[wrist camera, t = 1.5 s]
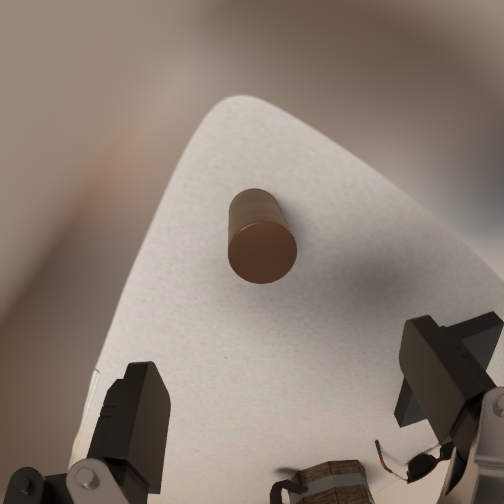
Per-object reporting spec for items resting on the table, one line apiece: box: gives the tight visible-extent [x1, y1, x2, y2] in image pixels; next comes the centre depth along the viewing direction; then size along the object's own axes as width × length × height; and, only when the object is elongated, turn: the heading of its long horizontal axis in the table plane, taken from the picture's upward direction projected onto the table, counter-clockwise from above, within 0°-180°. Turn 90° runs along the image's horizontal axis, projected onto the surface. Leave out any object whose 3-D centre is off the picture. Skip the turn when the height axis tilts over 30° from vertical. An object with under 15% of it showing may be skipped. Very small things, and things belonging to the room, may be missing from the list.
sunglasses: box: [375, 441, 455, 484], centre depth 38 cm, size 14×16×5 cm
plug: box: [228, 189, 297, 284], centre depth 20 cm, size 4×4×7 cm
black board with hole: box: [394, 311, 504, 428], centre depth 31 cm, size 14×12×2 cm
